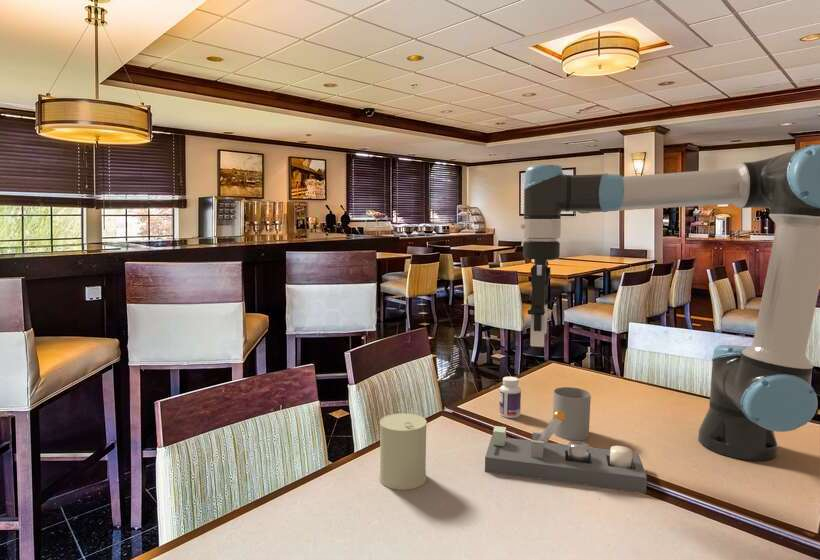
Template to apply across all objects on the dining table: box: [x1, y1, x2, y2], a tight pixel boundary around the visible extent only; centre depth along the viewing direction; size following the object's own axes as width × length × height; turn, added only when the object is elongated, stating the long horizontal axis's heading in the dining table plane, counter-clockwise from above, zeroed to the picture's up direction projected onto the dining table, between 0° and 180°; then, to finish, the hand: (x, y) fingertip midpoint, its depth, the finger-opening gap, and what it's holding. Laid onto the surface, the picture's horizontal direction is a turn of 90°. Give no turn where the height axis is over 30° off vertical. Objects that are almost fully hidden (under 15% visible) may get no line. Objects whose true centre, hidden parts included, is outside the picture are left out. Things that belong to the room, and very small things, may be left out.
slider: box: [492, 425, 507, 446], centre depth 113 cm, size 2×3×3 cm
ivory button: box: [609, 445, 633, 469], centre depth 104 cm, size 4×4×4 cm
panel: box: [484, 431, 648, 494], centre depth 107 cm, size 30×11×6 cm, turn 74°
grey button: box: [567, 440, 590, 463], centre depth 106 cm, size 4×4×4 cm
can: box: [378, 412, 428, 491], centre depth 103 cm, size 9×9×12 cm
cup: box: [552, 386, 592, 441], centre depth 126 cm, size 8×8×10 cm
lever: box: [537, 411, 565, 446], centre depth 108 cm, size 2×3×9 cm
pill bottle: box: [498, 376, 522, 419], centre depth 137 cm, size 5×5×10 cm
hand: (538, 339), depth 114 cm, fingers open, 13 cm apart
